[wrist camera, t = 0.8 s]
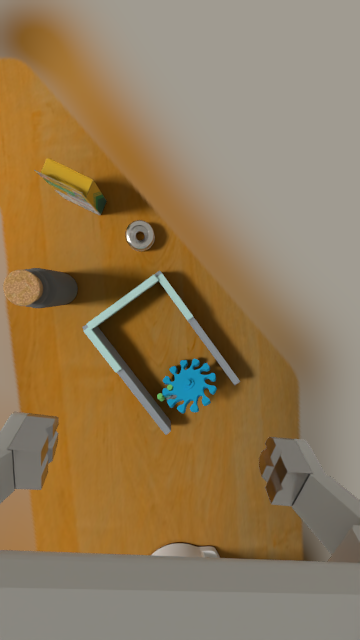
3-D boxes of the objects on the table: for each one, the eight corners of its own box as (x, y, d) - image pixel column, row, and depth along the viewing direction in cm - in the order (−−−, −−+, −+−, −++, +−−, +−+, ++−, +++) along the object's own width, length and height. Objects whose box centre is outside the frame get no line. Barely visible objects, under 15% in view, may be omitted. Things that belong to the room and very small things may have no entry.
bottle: (39, 279, 53) (-10, 275, 38) (69, 267, 53) (32, 258, 38) (53, 309, 54) (10, 317, 39) (83, 297, 54) (51, 300, 39)
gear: (207, 350, 54) (222, 401, 48) (214, 364, 59) (228, 412, 53) (151, 368, 56) (159, 420, 49) (162, 380, 60) (170, 429, 54)
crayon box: (107, 200, 52) (91, 174, 41) (100, 216, 53) (82, 195, 41) (68, 181, 52) (41, 150, 40) (62, 197, 52) (32, 171, 40)
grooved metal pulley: (127, 252, 54) (155, 251, 54) (125, 249, 51) (154, 249, 51) (126, 223, 53) (154, 222, 53) (123, 219, 50) (153, 218, 50)
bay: (234, 374, 57) (241, 383, 52) (165, 424, 57) (165, 437, 52) (160, 271, 54) (159, 270, 49) (88, 324, 54) (80, 328, 49)
